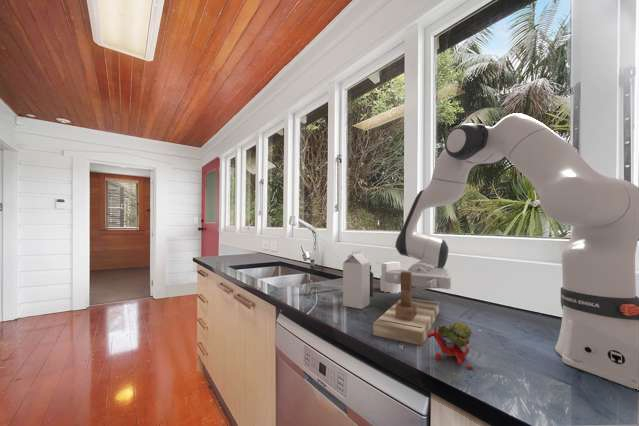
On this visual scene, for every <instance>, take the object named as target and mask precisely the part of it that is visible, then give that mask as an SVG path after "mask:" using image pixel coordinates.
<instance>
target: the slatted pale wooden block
mask: <svg viewBox="0 0 639 426" xmlns="http://www.w3.org/2000/svg"><path fill="white" fill-rule="evenodd" d="M400 302H401V297H400V298H399V299H398V300H397V301H396V302H395V303H394V304H393V305H391V307H390V308H388V309H387V310H386V311H385V312H384V313H383V314H382V315H380V316H379V317H378V318H377V319H376V320H375V321H373V323H372V327H373V328H372V331H373V332H372V335H373V336H376V337H380V338H384V339H385V338H386V339H391V340H395V341H400V342H403V343H409V344H414V345H418V346H419V345H420V346H423V345H424V344H425V341H426V339H427V338H428V337H427V335H428V334H429V333H430V331H431V329H432V327H433V325H434V323H435V321H436V319H437V316H438V315H439V313H440V302H439V301H435V300H434V301H433V300H427V299H419V298H413V297H412V303H415V304H417V315H416V316H415V318H414V319H413V320H412V321H411V320H405V319H399V318H396V306H397V305H398V304H399V303H400Z"/></svg>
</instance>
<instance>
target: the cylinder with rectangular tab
mask: <svg viewBox="0 0 639 426" xmlns="http://www.w3.org/2000/svg"><path fill="white" fill-rule="evenodd" d="M401 264H402V263H401V262H400V261H389V262H385V261H384V262H381V266H380V267H381V268H380V269H381V272H380V273H381V275H380V276H379V277H380V291H381V292H382V291H384V292H383V293H386V292H390V293H389V294H400V293H399V292H401V284H395V283H388V282H386V281H385V272H386V271H389V270H402V269H401Z"/></svg>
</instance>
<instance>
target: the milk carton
mask: <svg viewBox="0 0 639 426" xmlns="http://www.w3.org/2000/svg"><path fill="white" fill-rule="evenodd" d="M370 265H371V262H370V261H369V259H367V258H366V257H365V256H364V255H363V253H362V250H361V249H360V250H354V251H351V253H350V254H349V255H348V256H347V259H345V260H344V262H342V286H343V290H342V306H344V307H348V308H353V309H359V310H363V309H364V308H366V307H368V306H369V305H371V301H370V300H371V296H370Z"/></svg>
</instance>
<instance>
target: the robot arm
mask: <svg viewBox="0 0 639 426" xmlns="http://www.w3.org/2000/svg"><path fill="white" fill-rule="evenodd" d="M507 160H508V162H510V164H512V165H513V167H515V168H516V169H517V170H518V171H519V172H520V173H521V174H522V175H523V176H524V177H525V178H526V179H527V180H528V182H529V183H530V184H531V185H532V187H533V189H534V190H535V192H536V193H537V195H538V196H539V205H540V208H541V210H542V212H543V213H544V214H545V216H546V217H548V219H549V218H550V219H551V220H553V221H554V222H557V223H560V224H561V225H562V224H563V225H566V226H569V227H572V230H571V233H570V237H569V240H568V243H567V245H566V247H565V248H564V249H563V250H562V254H561V263H562V264H561V267H562V269H561V271H562V274H561V275H562V287H560V307H561V309H562V314H561V324H560V325H561V326H560V330H559V334H558V339H557V341H556V342H557V343H556V345H555V347H554V350H555V351H556V353H558V355H560V356H561V361H562V363H564V364H565V365H568V366H571V367H573V368H576V369H579V370H582V371H584V372H586V373H589V374H592V375H596V376H598V377H600V378H603V379H606V380H609V381H611V382H614V383H616V384H619V385H622V386H624V387H627V388H630V389H633V388H634V389H633V390H635V389H637V390H636V391H638V390H639V296H637V289H636V285H637V283H636V282H637V281H636V252H637V246H638V242H639V186H637V185H636V184H634V183H633V182H630V181H628V180H627V179H622V178H616V177H615V178H614V177H608V176H605V175H603V174H601V173H599V172H597V171H596V170H595V169H593V168H592V167H591V166H590V165H589V164H588V163H587V162H586V160H585V159H583V157H582V156H581V155H580V154H579V150H578V149H577V148H576V147H575V146H574V145H572V144H570V143H569V142H568V141H567V140H565V139H564V138H563V137H562V136H560V135H559V134H557V133H556V132H555V131H553V130H552V129H551V128H550V127H548V126H546V125H545V124H544V123H542V122H541V121H539V120H537V119H535V118H533V117H531V116H529V115H527V114H523V113H520V112H519V113H516V112H515V113H512V114H511V113H510V114H508V115H506V116H505V117H503V118H502V119H500V120H499V121H498V122H497V123H496V124H495V125H493V126H488V125H485V124H482V123H471V122H470V123H462V124H458V125H456V126H454V127H452V128H451V129H450V130H449V132H448V133H447V135H446V137H445V140H444V149H443V150H442V151H441V152H440V154H439V156H438V157H437V160H436V163H435V166H434V169H433V171H432V172H433V173H432V176H431V179H430V183H429V184H428V185H427V187H426V188H424V189H422V190H420V191H419V192H418V194H416V197H415V199H414V200H413V202H412V205H411V208H410V210H409V212H408V214H407V216H406V220H405V222H404V223H403V226H402V229H401V230H400V233H399V234H398V236H397V238H396V240H395V246H394V247H395V248H396V251H397V252H398V254H400V256H404V257H408V258H413V259H416V260H418V261H417V262H416V263H414V264H411V266H409V268H407V270H405V269H401V270H389V271H386V272H385V281H386V282H388V283H395V284H401V272H411V280H412V287H413V288H415V289H417V290H427V289H428V290H429V289H445V290H451V288H452V280H451V279H452V278H451V274H450V272H449V270H448V268H445V266H446V263H447V260H448V257H449V247H448V244H447V243H446V240H444V239H442V238H439V237H435V236H432V235H428V234H423V233H420V232H417V231H416V227H417V225H418V223H419V221H420V218H421V216H422V213H423V212H424V211H425V210H427V209H430V208H434V207H435V208H436V207H444V206H448V205H449V206H450V205H453V204H454V203H456V202H458V201H459V200H460V199H461V198H462V196H463V194H464V191H465V189H466V186H467V182H468V178H469V174H470V171H471V169H473V167H475V166H479V167H485V166H493V165H497V164H501V163H504V162H505V161H507Z"/></svg>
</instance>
